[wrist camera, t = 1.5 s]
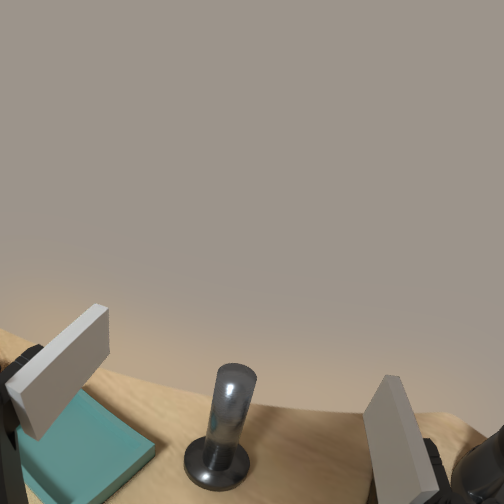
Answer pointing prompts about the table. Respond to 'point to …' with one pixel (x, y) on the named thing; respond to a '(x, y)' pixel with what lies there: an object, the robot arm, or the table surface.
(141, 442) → the tray
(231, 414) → the joystick
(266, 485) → the table surface
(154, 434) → the table surface
